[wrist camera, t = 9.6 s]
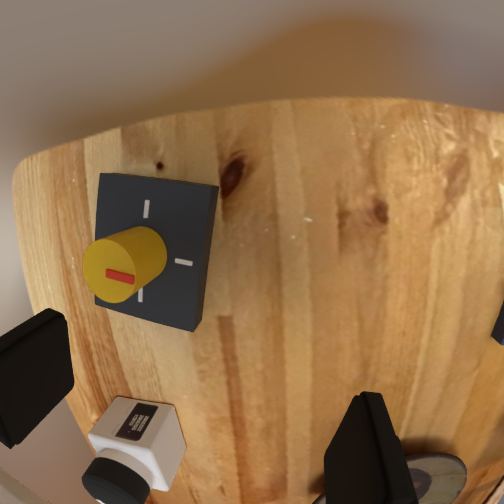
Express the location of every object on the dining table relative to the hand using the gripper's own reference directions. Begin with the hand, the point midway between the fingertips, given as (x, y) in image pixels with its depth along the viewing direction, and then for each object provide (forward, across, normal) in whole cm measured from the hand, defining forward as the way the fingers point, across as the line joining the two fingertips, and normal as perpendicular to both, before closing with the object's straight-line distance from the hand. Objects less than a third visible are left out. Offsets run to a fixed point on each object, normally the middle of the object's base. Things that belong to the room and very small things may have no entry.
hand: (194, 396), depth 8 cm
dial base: (+18, +9, +1) cm, 20 cm away
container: (+18, +8, +23) cm, 30 cm away
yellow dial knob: (+15, +9, +1) cm, 18 cm away
